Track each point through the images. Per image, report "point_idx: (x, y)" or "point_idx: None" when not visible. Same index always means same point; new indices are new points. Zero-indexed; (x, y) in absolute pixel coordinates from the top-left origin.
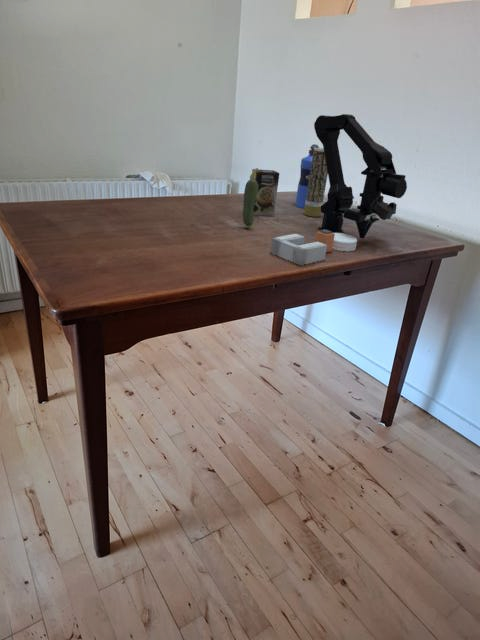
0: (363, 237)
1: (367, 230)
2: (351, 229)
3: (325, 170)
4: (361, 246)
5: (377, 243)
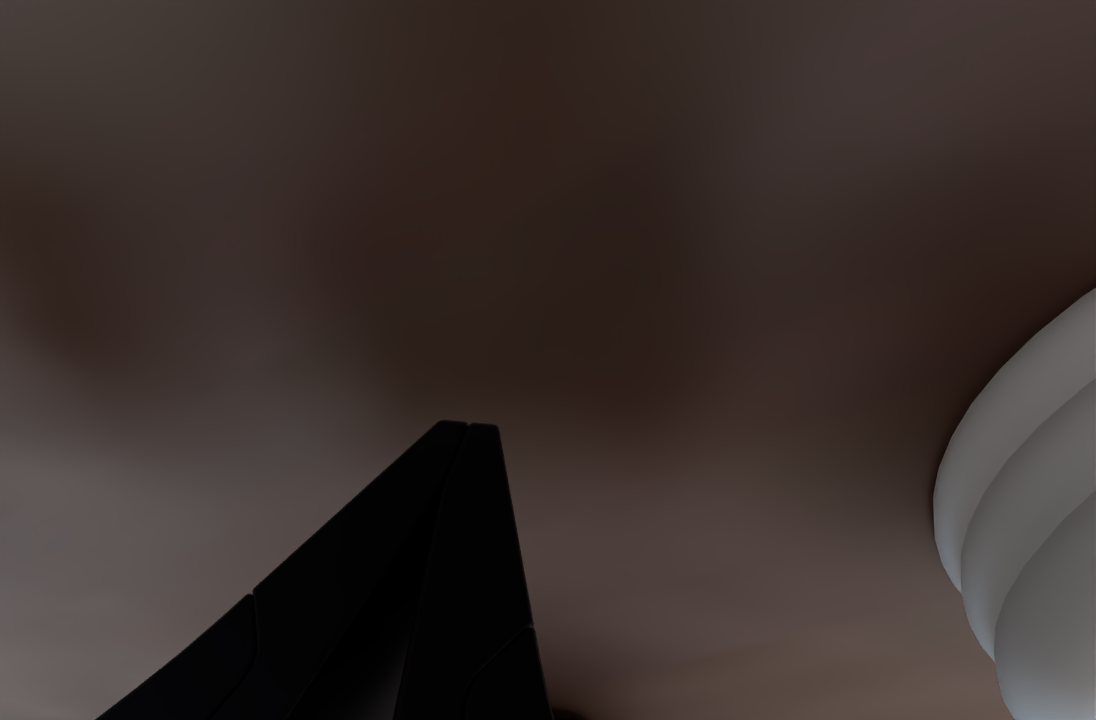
0: (475, 435)
1: (342, 569)
2: (153, 664)
3: None
4: (842, 213)
5: (165, 129)
